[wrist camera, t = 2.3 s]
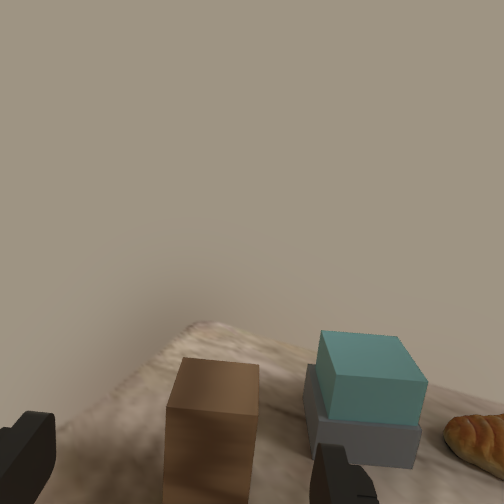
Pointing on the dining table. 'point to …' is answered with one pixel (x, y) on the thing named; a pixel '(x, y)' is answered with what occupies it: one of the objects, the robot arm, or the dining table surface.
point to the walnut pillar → (210, 433)
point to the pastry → (478, 441)
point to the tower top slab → (369, 379)
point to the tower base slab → (358, 433)
